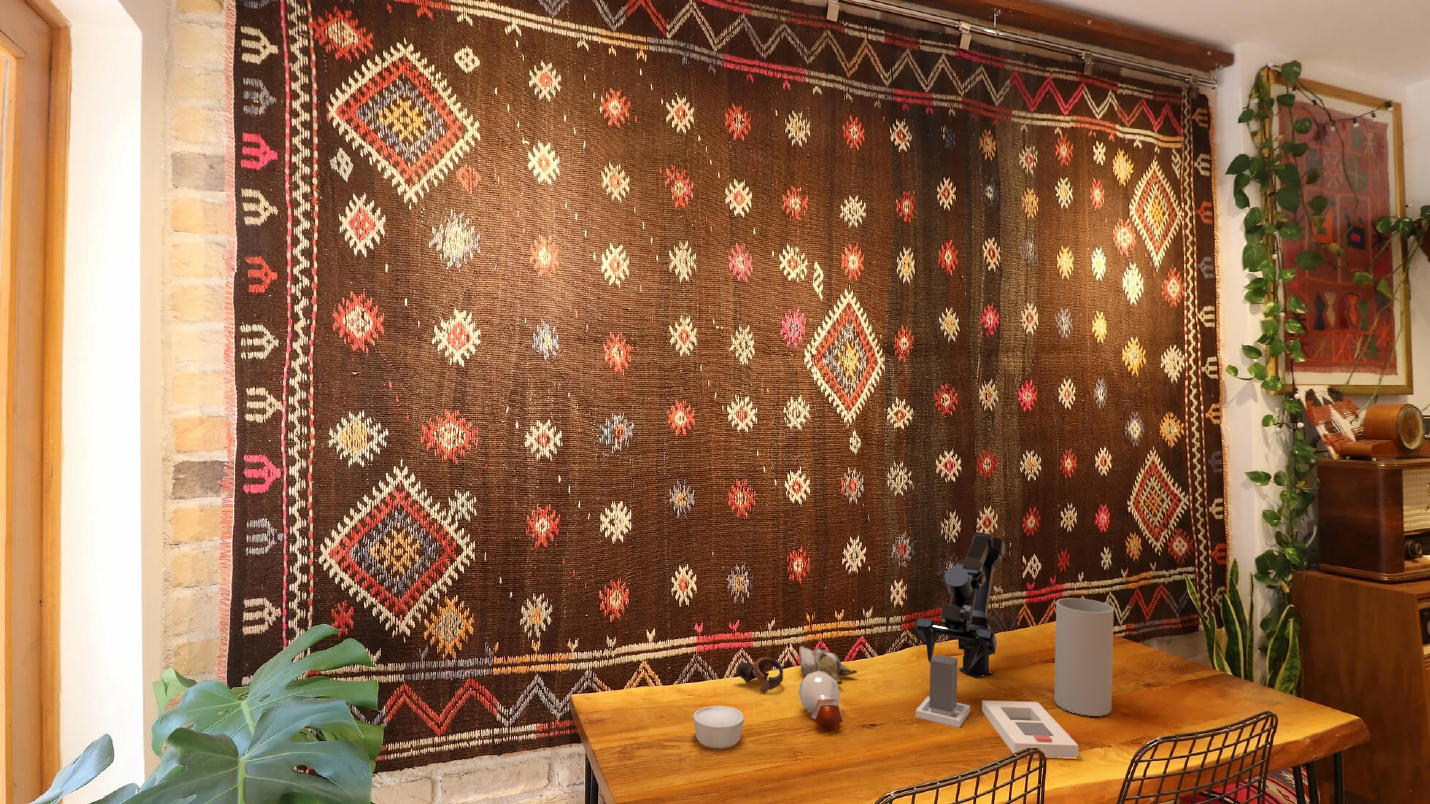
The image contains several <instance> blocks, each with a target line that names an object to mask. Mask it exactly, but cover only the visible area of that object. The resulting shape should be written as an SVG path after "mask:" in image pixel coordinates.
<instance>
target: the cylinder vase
mask: <svg viewBox="0 0 1430 804" xmlns="http://www.w3.org/2000/svg"><path fill="white" fill-rule="evenodd" d="M1055 604H1056V606H1055V607H1056V609H1055V613H1056V615H1055V651H1054V652H1055V659H1054V660H1055V661H1054V702H1055V704H1056V706H1058V707H1059V708H1060V707H1061V708H1060V709H1063V711H1066V710H1067V711H1066V712H1068V711H1069V712H1068V713H1071V712H1072V713H1071V714H1074V713H1077V714H1081V715H1080V716H1082V715H1105V716H1107V715H1109V714H1110V713H1111V711H1112V708H1113V707H1112V703H1113V702H1112V701H1113V698H1112V697H1113V696H1112V695H1113V662H1114V661H1113V656H1114V653H1113V650H1114V649H1113V648H1114V647H1113V645H1114V614H1115V613H1114V612H1115V611H1114V607H1113V605H1110V604H1108V603H1105V602H1101V601H1098V600H1094V599H1087V598H1077V597H1075V598H1074V597H1066V598H1060V599H1058V600H1056V603H1055ZM1108 713H1109V714H1108ZM1077 714H1076V715H1077ZM1106 714H1107V715H1106Z"/></svg>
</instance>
